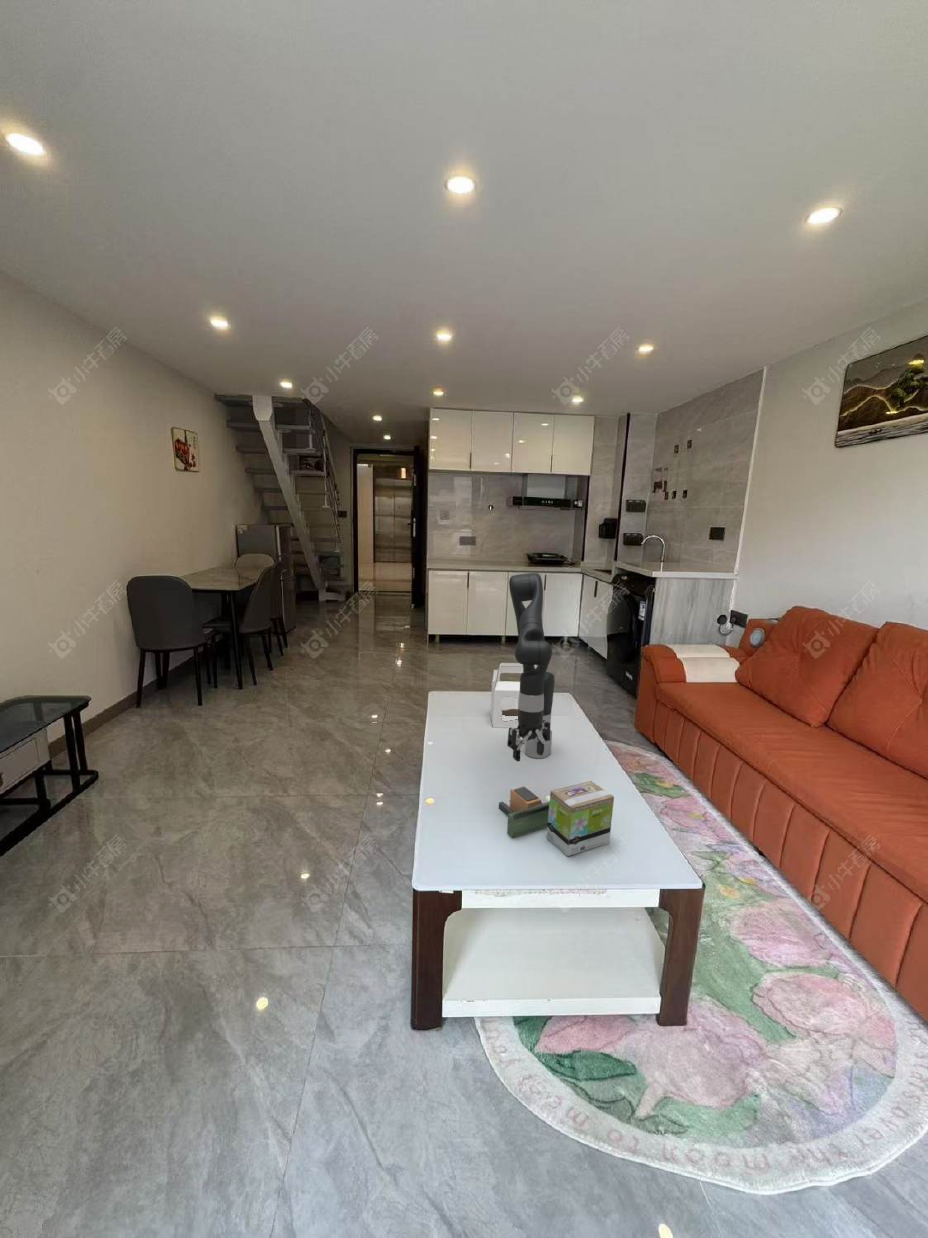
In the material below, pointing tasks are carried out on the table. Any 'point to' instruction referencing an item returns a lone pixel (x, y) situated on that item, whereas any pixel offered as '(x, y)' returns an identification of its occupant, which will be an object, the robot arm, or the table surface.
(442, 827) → the table surface
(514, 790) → the framed panel box
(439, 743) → the table surface
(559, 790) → the tea box
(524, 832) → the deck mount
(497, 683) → the gable box
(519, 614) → the robot arm
